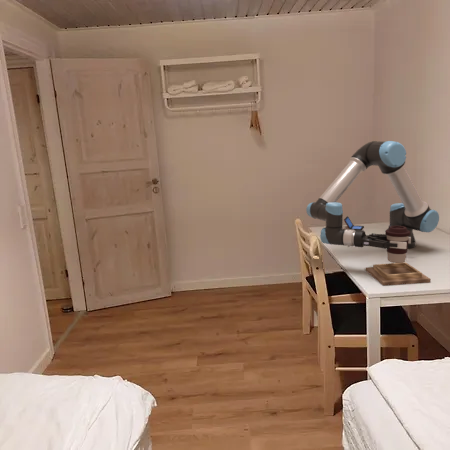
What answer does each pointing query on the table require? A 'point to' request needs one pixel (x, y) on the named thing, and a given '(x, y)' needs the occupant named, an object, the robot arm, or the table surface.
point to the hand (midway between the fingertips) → (408, 242)
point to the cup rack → (396, 274)
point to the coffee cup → (399, 236)
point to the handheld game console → (351, 226)
